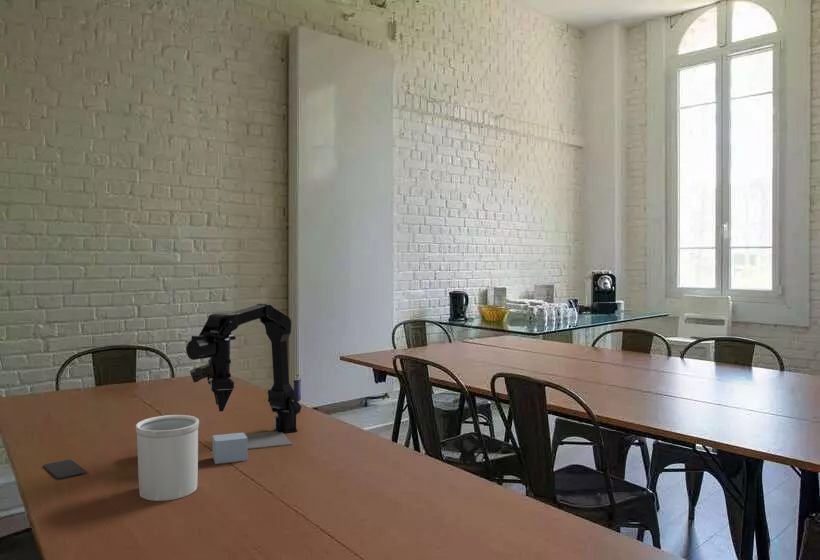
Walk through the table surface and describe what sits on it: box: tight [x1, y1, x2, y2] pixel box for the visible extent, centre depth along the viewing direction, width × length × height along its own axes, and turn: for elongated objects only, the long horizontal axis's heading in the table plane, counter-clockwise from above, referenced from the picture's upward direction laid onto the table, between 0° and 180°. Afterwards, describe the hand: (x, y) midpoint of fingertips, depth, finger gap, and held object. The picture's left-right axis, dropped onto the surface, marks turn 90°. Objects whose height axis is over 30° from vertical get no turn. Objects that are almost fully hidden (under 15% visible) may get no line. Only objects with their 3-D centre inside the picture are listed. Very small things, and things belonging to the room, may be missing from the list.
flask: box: [293, 373, 302, 403], centre depth 263 cm, size 9×3×11 cm, turn 8°
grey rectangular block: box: [212, 432, 249, 465], centre depth 185 cm, size 9×6×6 cm
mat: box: [245, 430, 293, 451], centre depth 204 cm, size 16×16×1 cm
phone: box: [43, 459, 88, 481], centre depth 174 cm, size 7×1×15 cm
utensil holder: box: [135, 414, 200, 502], centre depth 159 cm, size 15×15×18 cm
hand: (219, 407), depth 190 cm, fingers open, 9 cm apart
